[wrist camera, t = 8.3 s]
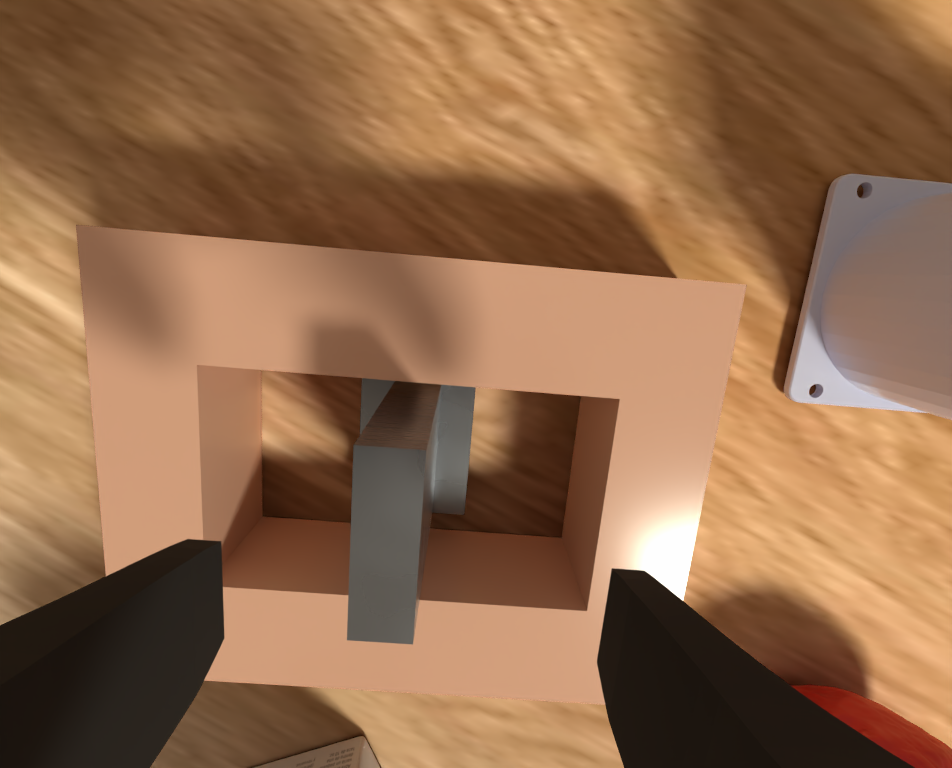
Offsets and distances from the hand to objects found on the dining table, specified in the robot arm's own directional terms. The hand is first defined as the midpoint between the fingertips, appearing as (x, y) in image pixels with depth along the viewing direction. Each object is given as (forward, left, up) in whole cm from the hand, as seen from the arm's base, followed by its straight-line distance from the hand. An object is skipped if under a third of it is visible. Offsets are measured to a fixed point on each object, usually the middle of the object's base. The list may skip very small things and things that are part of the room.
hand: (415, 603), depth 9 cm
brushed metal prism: (+1, 0, -10) cm, 10 cm away
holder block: (+1, +1, -10) cm, 10 cm away
